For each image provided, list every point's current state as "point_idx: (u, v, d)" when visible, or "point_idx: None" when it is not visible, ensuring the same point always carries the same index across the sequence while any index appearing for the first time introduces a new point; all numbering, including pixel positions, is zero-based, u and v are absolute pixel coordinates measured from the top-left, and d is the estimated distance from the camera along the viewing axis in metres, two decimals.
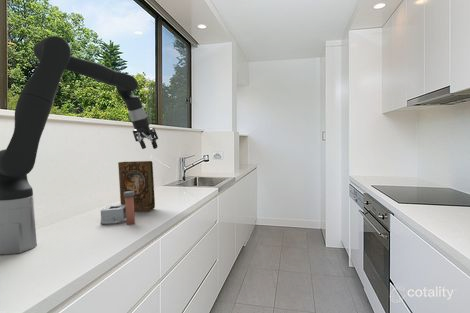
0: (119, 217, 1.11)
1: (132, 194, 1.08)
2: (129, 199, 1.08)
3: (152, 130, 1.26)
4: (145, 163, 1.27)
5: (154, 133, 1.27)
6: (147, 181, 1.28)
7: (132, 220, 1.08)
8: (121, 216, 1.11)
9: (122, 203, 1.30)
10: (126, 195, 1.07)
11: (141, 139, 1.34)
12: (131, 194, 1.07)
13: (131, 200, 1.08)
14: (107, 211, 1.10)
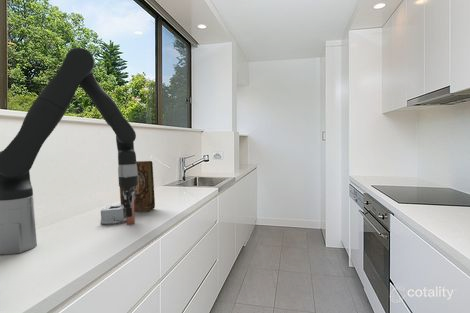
0: (119, 217, 1.11)
1: None
2: None
3: (124, 197, 1.03)
4: (145, 163, 1.27)
5: (126, 201, 1.03)
6: (147, 181, 1.28)
7: (132, 220, 1.08)
8: (121, 216, 1.11)
9: (122, 203, 1.30)
10: None
11: None
12: None
13: None
14: (107, 211, 1.10)
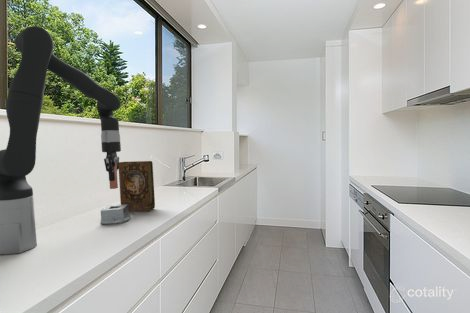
0: (119, 217, 1.11)
1: None
2: (112, 164, 1.12)
3: (106, 161, 1.07)
4: (145, 163, 1.27)
5: (108, 164, 1.08)
6: (147, 181, 1.28)
7: (115, 184, 1.13)
8: (121, 216, 1.11)
9: (122, 203, 1.30)
10: None
11: None
12: None
13: None
14: (107, 211, 1.10)
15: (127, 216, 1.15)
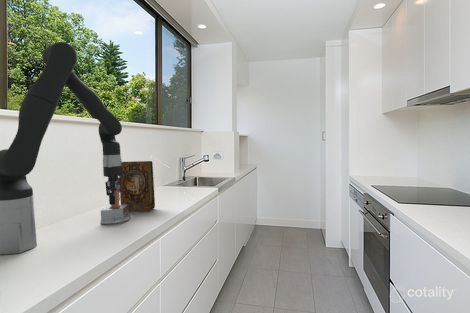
0: (119, 217, 1.11)
1: (117, 188, 1.13)
2: None
3: (107, 184, 1.08)
4: (145, 163, 1.27)
5: (109, 188, 1.08)
6: (147, 181, 1.28)
7: None
8: (121, 216, 1.11)
9: (122, 203, 1.30)
10: None
11: None
12: None
13: (116, 193, 1.14)
14: (107, 211, 1.10)
15: (127, 216, 1.15)
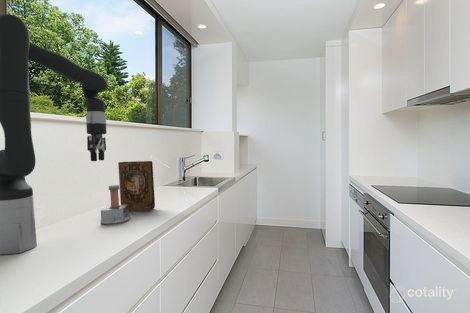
0: (119, 217, 1.11)
1: (117, 188, 1.13)
2: (114, 192, 1.13)
3: (89, 137, 1.04)
4: (145, 163, 1.27)
5: (90, 142, 1.04)
6: (147, 181, 1.28)
7: None
8: (121, 216, 1.11)
9: (122, 203, 1.30)
10: (111, 188, 1.12)
11: (102, 149, 1.15)
12: (116, 188, 1.13)
13: (116, 193, 1.14)
14: (107, 211, 1.10)
15: (127, 216, 1.15)
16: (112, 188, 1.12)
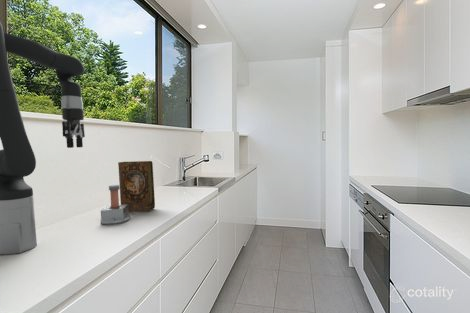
0: (119, 217, 1.11)
1: (117, 188, 1.13)
2: (114, 192, 1.13)
3: (64, 123, 1.00)
4: (145, 163, 1.27)
5: (66, 127, 1.00)
6: (147, 181, 1.28)
7: None
8: (121, 216, 1.11)
9: (122, 203, 1.30)
10: (111, 188, 1.12)
11: (80, 136, 1.12)
12: (116, 188, 1.13)
13: (116, 193, 1.14)
14: (107, 211, 1.10)
15: (127, 216, 1.15)
16: (112, 188, 1.12)
